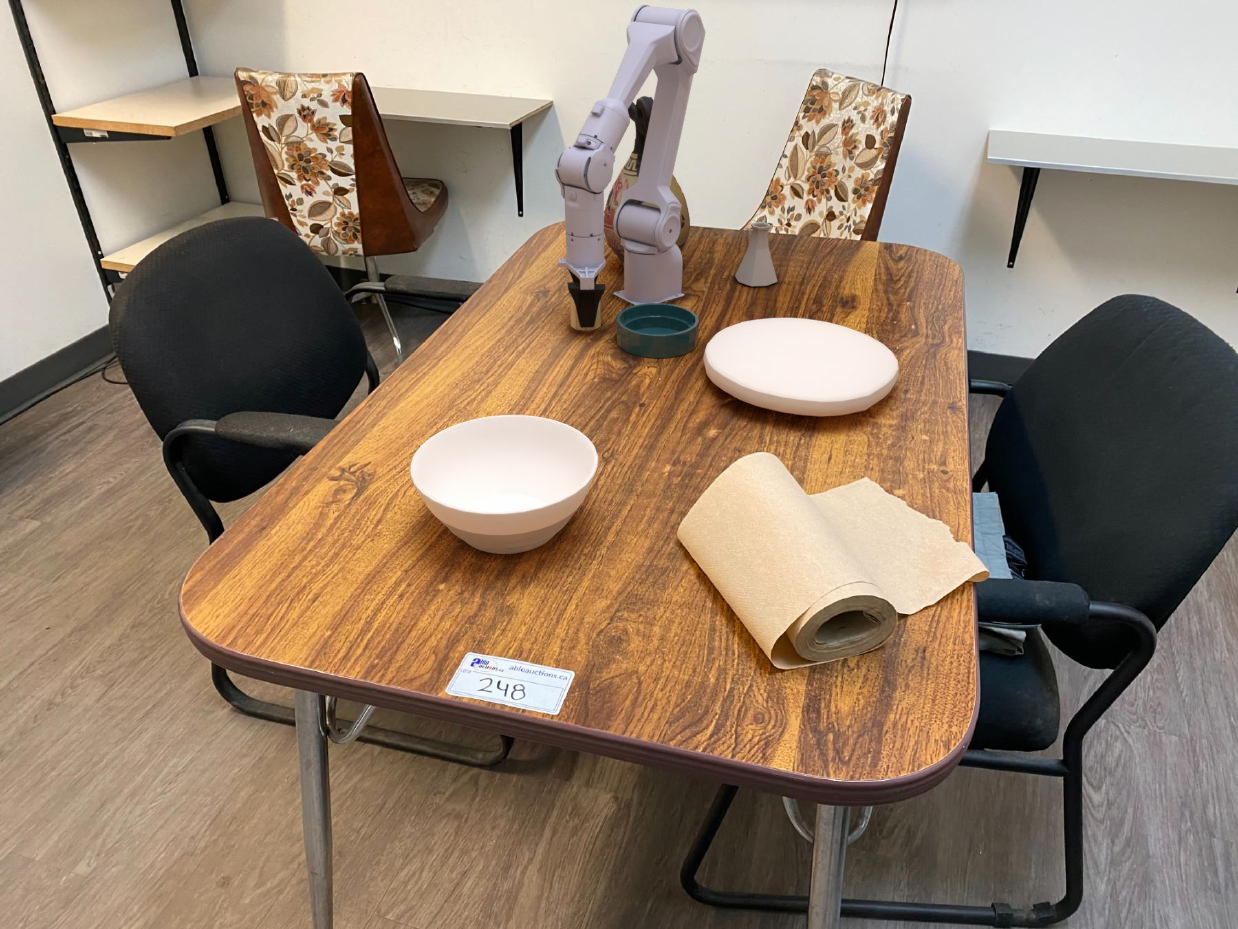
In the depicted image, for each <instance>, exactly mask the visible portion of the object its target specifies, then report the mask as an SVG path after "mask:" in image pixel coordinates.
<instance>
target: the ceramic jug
mask: <svg viewBox="0 0 1238 929" xmlns="http://www.w3.org/2000/svg"><path fill="white" fill-rule="evenodd" d="M653 101H654V98H653V97H652V96H646V95H642V96H640V97H638V98H637V99H636V103H635V102H634V101H633V102H632V103H631V105H630V107H629V108H628V114H629V117H630V120H631V121H633V122H634V126H635V138H634V146H633V150H632V152H630V155H629V157H628V159H627V160H626V161H625V164H624V165H623V166H622V168H621V170H620V172H619V173H618V176H617V178H616V179H615V181H614V182H613V184H612V187H611V189H610V191H609V193H608V196H607V199H606V203H605V206H604V238H605V239H606V244H607V246H608V247H609V248H610V250H611V251H612V252H613V253H614V254H615V255H616V257H617V258H618V259H619V261H620V262H621V264H622V265H623V266H624V246H622V245H621V239H619V238H618V237H617V236H616V234H615V231H614V224H613V222H614V216H615V213H616V211H617V209H618V207H619V205H620V203H621V199H622V194H623V192H624V191H626V190H627V189H629V188H630V187H632V186H633V185H635V184H636V183H637V181H638V176H639V171H640V166H641V161H642V156H643V151H644V146H645V141H646V136H647V131H648V126H649V121H650V116H651V111H652V106H653ZM670 190H671V192H672V193H673V194H674V196H675V197H676V198H677V199H678V201H679V202H680V204H681V205H682V207H681V211H680V234H679V237H678V239H677V241H676V243H675V244H676V245H677V246H678V247H679V249H680V251H681V252H682V251H683V250H684V247H685V246H686V243H687V242H688V238H689V235H690V230H691V218H690V212H689V208H688V203H687V200H686V197H685V193H684V192H683V190H682V187H681V186H680V183H679V182H678V180H677V178H676V177H675V175H674V174H673V176H672V180H671V185H670ZM642 204H643V205H647V206H651V207H656V208H659V206H657V205H655V204H652V203H647V202H643V203H642Z"/></svg>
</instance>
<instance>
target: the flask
mask: <svg viewBox="0 0 1238 929" xmlns="http://www.w3.org/2000/svg"><path fill="white" fill-rule="evenodd" d="M750 226H751V229H752V231H751V237H750V240H749V244H748V247H747V249H746V251H745V253H744V256H743V258H742V260H741V262H740V264H739V266H738V268H737V270H736V273H735V275H734V277H735V279H736V280H737V282H738V283H741V284H744V285H746V286H750V287H767V286H771V285H772V284H776V283H777V282H778V278H777V274H776V270H775V268H774V264H773V258H772V256H771V252H770V247H769V246H770V244H769V230H771V228H772V225H771V224H770V223H769V222H764V221H755V222H751V223H750Z"/></svg>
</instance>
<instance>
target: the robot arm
mask: <svg viewBox="0 0 1238 929" xmlns="http://www.w3.org/2000/svg"><path fill="white" fill-rule="evenodd" d="M705 37H706V29H705V26H704V23H703V20H702V18H701V16H700V13H699V12H698V11H697V10H696V9H694V8H687V9H684V8H671V7H663V6H662V7H661V6H651V5H649V4H641V5H638V7H636V8H635V10H634V11H633V13H632V16H631V18H630V21H629V23H628V25H627V26H626V42H627V47H626V50H625V51H624V52H625V53H624V55H623V57H622V60H621V62H620V65H619V67H618V69H617V72H616V73H615V76H614V79H613V80H612V83H611V86H610V88H609V91H608V93H607V96H606V97H605V98H602V99H599V100H597V101H595V102H594V103H593V106H592V108H591V109H590V111H589V113H588V116H587V118H586V120H585V122H583V125H582V127H581V129H580V131H579V133H578V135H577V137H576V139H575V140H574V142H573V145H570V146H568V147H566V148H565V149H564V150H563V151H562V152H561V153H560V154H559V156H558V159H557V162H556V168H554V174H555V179H556V181H557V183H558V184H559V186H560V195H561V196H562V198H563V199H564V222H565V223H564V224H565V257H560V258H558V266H559V267H560V268H566V269H567V271H568V273H569V275H570V277H571V282H570V281H569V282H567V291H568V293H569V295H570V294H571V296H572V298H573V300H574V303H575V306H576V310H577V316H578V320H579V324H580V327H581V328H586V327H594V325H595V321H596V316H597V310H598V306H599V302H600V300H601V299H602V298H603V295H604V294H605V292H606V289H607V286H606V283H597V281H598V278H599V275H600V273H601V271H602V270H603V269H604V268H605V267H606V258H605V233H604V211H605V189H607V187H608V186H609V184H610V183H611V182H612V178H613V173H614V164H615V162H616V155H615V153H616V152H617V149H618V148H619V146H620V143H621V141H622V140H623V137H624V136H625V133H626V131H627V130H628V127H629V126H630V123H631V119H630V117H629V114H628V108H629V107H630V105H631V103H632V102H633V103H634V100H635V99H636V97H637V95H638V94H639V92H640V91H641V89H642V87H643V86H644V84H645V83H646V81H647V79H648V77H649V76H650V74H651V73H652V71H653V72H654V73H655V75H656V78H657V81H656V86H655V93H654V96H653V106H652V111H651V116H650V121H649V126H648V131H647V136H646V141H645V146H644V151H643V156H642V161H641V166H640V171H639V176H638V181H637V183H636V184H635V185H633V186H632V187H630V188H629V189H627V190H626V191H624V192H623V194H622V199H621V203H620V205H619V207H618V209H617V211H616V213H615V216H614V222H613V224H614V231H615V234H616V236H617V237H618V238H619V239H621V245H622V246H624V265H623V289H621V290H618V291H614V292H613V293H612V294H613V295H615V296H617V297H619V298H620V299H622V300H625V301H627V302H628V303H630V304H632V305H633V306H635V305H639V304H646V303H664V302H667V301H670V300H673V299H677V298H681V297H684V296H685V293H682V288H683V286H682V284H683V282H682V281H683V263H684V261H683V255H682V251H680V249H679V247H678V246H677V245H676V244H675V243H676V241H677V239H678V237H679V234H680V211H681V207H682V205H681V204H680V202H679V201H678V199H677V198H676V197H675V196H674V194H673V193H672V192H671V190H670V185H671V180H672V176H673V175H674V170H675V166H676V161H677V156H678V151H679V146H680V142H681V138H682V132H683V128H684V124H685V119H686V118H685V117H686V114H687V108H688V103H689V99H690V95H691V90H692V84H693V80H694V75H695V74H696V73H697V72H698V70H699V65H700V60H701V56H702V50H703V48H704V47H703V46H704V41H705ZM643 202H647V203H652V204H655V205H657V206H659V208H656V207H651V206H647V205H643V204H642V203H643Z"/></svg>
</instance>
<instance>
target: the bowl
mask: <svg viewBox="0 0 1238 929" xmlns="http://www.w3.org/2000/svg"><path fill="white" fill-rule="evenodd" d="M598 467H599V456H598V452H597V450H596V447H595V445H594V444H593V442H592V441H591V440H590V439H589V437H588V436H586V435H585V434H584V433H583V432H581V431H580V430H579V429H577V428H575V427H573V426H571V425H570V424H567V423H564V422H561V421H558V420H555V419H551V418H547V417H543V416H536V415H527V414H500V415H490V416H483V417H479V418H473V419H469V420H466V421H462V422H458V423H456V424H454V425H452V426H449V427H447V428H444V429H442V430H440V431H439V432H436V434H434V435H432V436H431V437H429V438H428V439H426V441H424V442H423V444H421V445H420V447H419V448H418V449H417V450H416V452H415V453H414V455H413V457H412V459H411V462H410V465H409V476H410V479H411V482H412V484H413V486H414V487H415V490H416V491H417V493H418V494H419V496H420V497H421V499H422V501H423V503H424V504H425V505H426V507H427V509H428V510H429V511H430V513H432V514H433V516H434V517H435V518H437V519H438V520H439V521H440V523H441V524H442V525H443V526H445V527H446V528H448V529H449V531H450V533H452V534H453V535H454V536H456V537H457V538H459V539H460V540H462V541H464V542H465V543H466V544H468V545H469V546H470V547H472V548H475V549H476V550H479V551H481V552H485V553H490V554H497V555H513V554H520V553H525V552H529V551H532V550H534V549H537V548H539V547H541V546H543V545H545V544H547V543H548V542H549V541H550V540H551V539H553V538H554V537H555V535H556V534H557V533H559V532H560V531H561V530H562V529H563V528H565V526H566V525H567V524H568V522H569V521H570V519H571V518H572V517H573V516H574V514H575V513H577V511H578V510H579V508H580V506H582V504H583V502H584V501H585V499H586V497H587V495H588V492H589V490H590V487H591V485H592V484H593V483H592V482H593V481H594V478H595V476H596V473H597V470H598Z"/></svg>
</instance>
